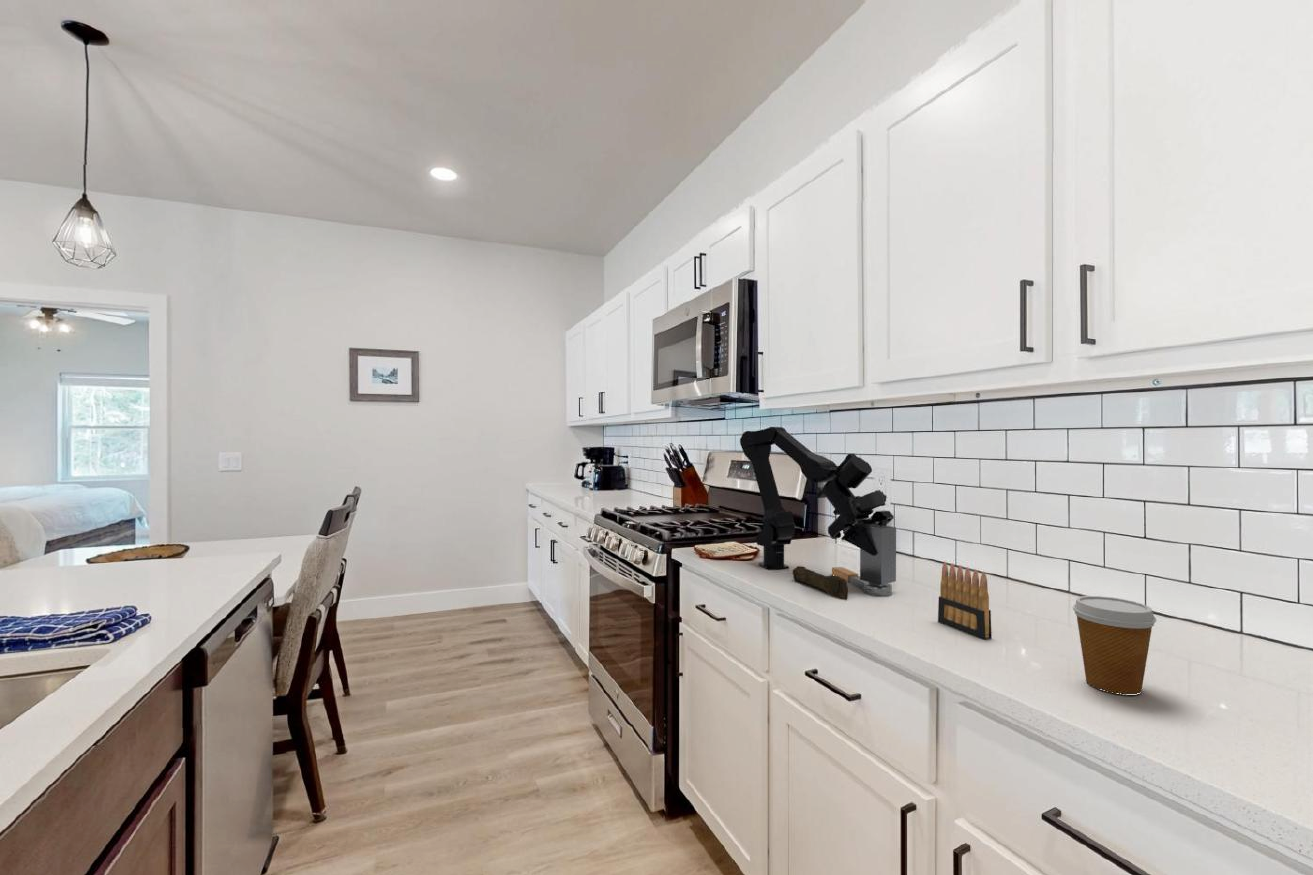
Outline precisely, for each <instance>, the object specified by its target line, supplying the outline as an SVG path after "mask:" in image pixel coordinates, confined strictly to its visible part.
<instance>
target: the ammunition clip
mask: <svg viewBox="0 0 1313 875" xmlns="http://www.w3.org/2000/svg"><path fill="white" fill-rule="evenodd" d="M939 591H940V595H939V596H938V603H937V604H938V606H937V612H938V613H937V622H938V623H939V624H941V625H944V626H947V627H950V628H952V629H955V630H958V631H959V632H963V633H965V634H967V635H970V636H973V637H975V638H978V639H981V640H983V641H985V640H990V639H992V636H993V635H992V633H993V632H992V611H991V609H990V595H989V588H988V578H987V575H986V571H982V572H981V575H980V577H979V572H978V570H977V569H976V568H975V569H974V570H973V573H972V574H971V571H970V568H969V566H968V567H966V568H965V570H964V571H963V568H962V565H959V566H958V568H957V571H956V568H955V565H954V563H951V564H950V567H949V566H948V564H947V562H946V561H944V562H943V564H942V568H941V580H940V590H939Z"/></svg>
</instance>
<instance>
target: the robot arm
mask: <svg viewBox="0 0 1313 875" xmlns="http://www.w3.org/2000/svg"><path fill="white" fill-rule="evenodd" d="M739 443H740V447H741V449H742V452H743V455H744V456H745V457H746V458H747V459H748V460H749V461H750V462H751V464H752V469H753V472H754V476H755V479H756V482H757V486H758V490H759V495H760V497H761V502H762V505H763V506H762V507H763V510H764V513H763V515H762V520H761V522H762V529H761V531H760V532H759V533H758V534H757V535H756V537H755V540H756V544H757V545H758V546H762V548H763V551H762V552H763V554H762V555H763V557H762V558H763V559H762V560H763V562H759V563H758V565H759V566H761V567H763V568H765V569H766V570H777V569H778V570H779V569H780V570H782V569H789V568H790V565H787V564H785V545H790V544H791V542H792V540H793V537H794V535H795V533H796V528H795V526H796V522H795V520H794V516H793V513H792V510H789V511H787V510H785V508H784V507H783V505H782V502H781V498H780V494H779V491H778V488H777V482H776V479H775V476H774V474H773V473H774V472H773V469H772V464H771V463H770V462H771V461H770V456H771V453H772V452H771V451H772V445H775V446H776V447H778V449H780V450H781V451H782V452H783V453H784V454H786V455H787V456H788V457H789V458H791V460H793V461H794V462H795V463H796V464H797V465H798V466H799V468H800V472H801V473H802V474H803V475H804V477H805V478H806V480H808V482H810V483H813V484H823V483H825V484H824V485H823V486H822V487H817V492H816V498H817V499H823V498H824V499H825V498H826V499H827V500H828V502H829V503H830V504H831V506H832V507H833V509H834V510H833V512H832V513H833V514H834V515H835V516H837V517H836V518H835V519H834V520H833V521H832V523H830V524H829V525H828V527H827V533H828V535H829V536H830V538H831V539H832V540H835V539H841V541H846V542H847V543H849V544H851V545H853V546H855V547H857V548H859V550H860V549H862V550H864V551H866V552H867V553H869V554H871V555H873V556H875V555H876V554H877V552H876V550H875V548H874V546H873V545H872V543H871V542H870V540H869V539H868V537H867V535H866V534H865V532H864V526H866V525H873V524H876V525H883V526H888V524H889V523H890V522H892V521H893V519H894V518H895V517H894V515H893V513H892V512H891V511H890V510H885V509H884V510H878V511H875V512H874V509H877V508H879V507H883V506H885V505H886V502H887V498H888V497H887V494H884V492H882V491H881V489H877V490H875V491H871V492H868V493H866V494H864V495H862V496H859V495H857V496H855V494H854V493H853V491H851V488H852V489H857V488H858V487H859V486H860V485H861V484H862V483H863V482H864V481H865V480H866V478H868V477H869V475H871V473H872V472H873V469H872V466H871V465H870V464H869V462H867V461H865V460H864V459H863V458H861V457H859V456H857V455H856V454H855V453H848V454H847V455H846V456H845V458H844V460H842V462H841V463H840V464H839V465H837V464H836V463H835V462H834V461H833V460H830V459H828V457H825V456H823V455H819V454H816V453H815V452H813V451H811V450H810V449H809V448H808V447H806V446H805V445H804V444H802V443H801V442H800V441H799V440H798V439H797V438H795V437H794V436H792V435H791V434H790V433H789V432H788V431H787V430H786V429H785V428H784V427H782V426H769V427H767V428H763V429H759V430H746V431H744V432H742V434H741V437H740V438H739ZM870 515H871V516H870ZM842 534H843V536H842Z"/></svg>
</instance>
